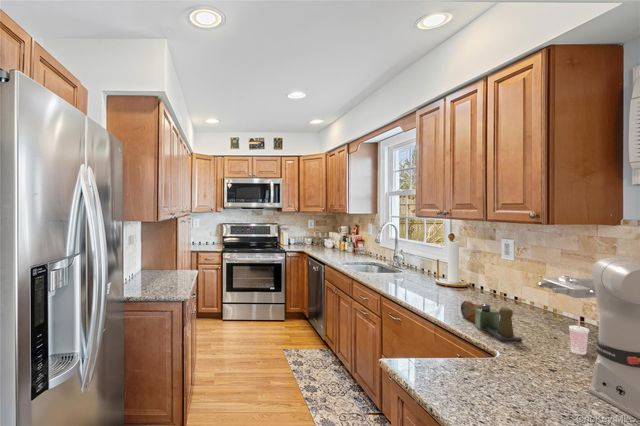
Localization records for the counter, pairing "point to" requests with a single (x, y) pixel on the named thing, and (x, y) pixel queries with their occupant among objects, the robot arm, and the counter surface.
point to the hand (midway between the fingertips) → (546, 287)
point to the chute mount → (491, 323)
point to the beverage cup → (578, 338)
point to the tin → (469, 310)
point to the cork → (505, 322)
